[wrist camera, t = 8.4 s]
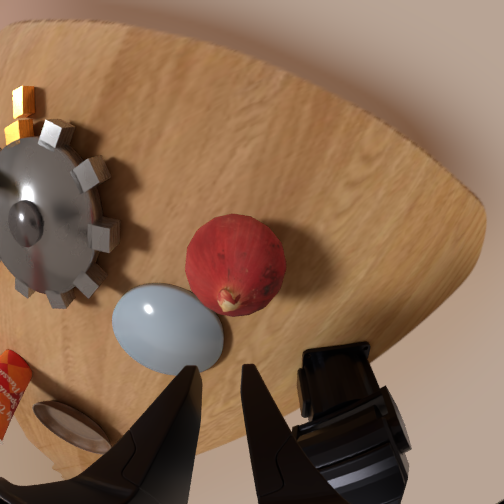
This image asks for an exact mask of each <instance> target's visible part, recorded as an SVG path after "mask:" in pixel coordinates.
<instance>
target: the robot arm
mask: <svg viewBox="0 0 504 504" xmlns="http://www.w3.org/2000/svg"><path fill="white" fill-rule="evenodd" d="M369 351H370V344H369V342H361V343H355V344H348V345H341V346H333V347H325V348H317V349H308V350H305V351H304V352H303V354H302V368H299V370H298V373H297V390H298V397H299V403H300V410H301V416H302V417H304V418H307V417H308V420H309V422H307V423H305V424H302V425H297V426H294V427H292V432H291V430H290V429H289V427H288V425H287V423H286V422H285V420H284V418H283V416H282V414H281V412H280V411H279V409H278V407H277V405H276V403H275V401H274V400H273V398H272V396H271V394H270V392H269V390H268V388H267V387H266V385H265V383H264V381H263V379H262V377H261V375H260V373H259V372H258V370H257V368H256V366H255V365H254V364H243V365H242V375H241V401H242V408H243V415H244V421H245V428H246V434H247V440H248V446H249V453H250V459H251V465H252V470H253V476H254V482H255V487H256V493H257V498H258V504H401V500H402V497H403V494H404V490H405V487H406V483H407V480H408V472H409V463H408V461H407V458H406V455H405V452H407V451H409V450H411V449H412V448H411V445H410V441H409V437H408V434H407V431H406V428H405V424H404V422H403V419H402V417H401V414H400V412H399V410H398V407H397V405H396V403H395V402H394V400H393V398H392V396H391V394H390V392H389V391H388V389H387V387H386V386H384V387H382V388H379V385H378V383H377V380H376V378H375V375H374V373H373V371H372V368H371V366H370V363H369V361H368V355H369ZM308 354H310V355H308ZM201 406H202V379H201V376H200V372H199V369H198V367H197V366H196V365H186V366H184V367H183V369H182V370H181V371H180V372H179V373H178V374H177V376H176V377H175V378H174V379H173V380H172V381H171V382H170V384H169V385H168V386H167V387H166V388H165V389H164V390H163V392H162V393H161V394H160V395H159V396H158V397H157V398H156V400H155V401H154V402H153V403H152V404H151V405H150V406H149V408H148V409H147V410H146V411H145V412H144V413H143V414H142V415H141V417H140V418H139V419H138V420H137V421H136V422H135V423H134V424H133V425H132V427H131V428H130V430H128V431H127V432H126V433H125V434H124V435H123V436H122V438H121V439H120V440H119V441H118V442H117V443H116V444H115V445H114V446H113V447H112V448H111V449H109V450H108V451H107V452H106V453H105V454H104V455H103V456H102V457H100V458H99V459H98V460H97V461H96V462H94V463H93V464H92V465H91V466H90V467H88V468H87V469H86V470H85V471H83V472H82V473H81V474H79V475H78V476H76V477H74V478H71V479H68V480H64V481H58V482H52V483H46V484H39V485H31V486H18V485H14V484H12V483H10V482H8V481H7V480H6V479H4V478H2V477H0V504H187V503H188V497H189V490H190V484H191V478H192V471H193V466H194V459H195V454H196V448H197V442H198V436H199V430H200V423H201ZM2 498H3V499H2ZM496 504H504V499H503V500H501V501H500V502H498V503H496Z"/></svg>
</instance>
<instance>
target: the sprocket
mask: <svg viewBox="0 0 504 504" xmlns="http://www.w3.org/2000/svg"><path fill="white" fill-rule="evenodd" d="M75 128H76V127H75V126H73V125H71V124H69V123H67V122H65V121H63V120H61V119H50V120H45V123H44V126H43V129H42V132H41V135H39V136H34V130H33V119H29V120H19V121H17V122H15V123H13V124H11V125H10V126H8V127H6V128H5V136H6V147H5V148H4V149H3V150H2V149H1V148H0V262H1V261H2V262H3V263H4V265H5V266H6V267H7V269H8V270H9V271H10V272H11V273H12V274H13V275H14V277H15V289H16V290H17V291H18V292H20V293H21V294H22V295H24V296H25V297H26V298H29V297H30V296H31V295H32V294H33V293H34V292H35V291H37V292H40V293H44V294H46V295H47V297H48V300H49V302H50V304H51V306H52V308H58V309H66V308H67V307H68V306H69V305H70V303H71V302H72V301H73V300H74V299H75V295H74V292H73V290H72V288H74V287H75V286H76V287H77V288H78V289H79V290H80V291H81V292H82V293H83V294H84V295H85V296H86V297H87V298H88V299H89V298H90V296H91V295H92V294H93V293H94V292H95V290H96V289H97V288H98V287H99V286H100V284H101V283H102V282H103V281H104V279H105V278H106V277H107V276H108V274H107V273H106V272H105V271H104V270H103V269H102V268H101V267H100V266H99V265H98V264H97V263H96V260H97V258H98V255H99V253H100V251H102V252H107V253H110V252H111V251H112V250H113V249H114V248H115V247H116V246H117V245H118V244H119V240H120V220H117V219H113V218H108V217H103V211H102V205H101V200H100V196H99V192H98V189H97V186H98V185H100V184H102V183H103V182H105V181H106V180H108V179H109V178H111V175H110V173H109V171H108V168H107V166H106V164H105V162H104V160H103V158H102V156H101V155H99V156H95V157H91V158H88V159H86V160H85V161H83V159H82V158H81V157H80V156H79V154H78V153H77V152H76V151H75V150H74V149H73V148H72V147H71V146H69V144H70V141H71V138H72V136H73V133H74V131H75Z"/></svg>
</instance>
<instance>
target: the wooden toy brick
mask: <svg viewBox="0 0 504 504" xmlns="http://www.w3.org/2000/svg"><path fill="white" fill-rule="evenodd" d="M13 113H14V118H25V117H28V116H30V115H32V114H34V113H35V99H34V86H21V87H19V88H18V89H16V90H15V91H13Z"/></svg>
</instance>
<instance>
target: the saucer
mask: <svg viewBox="0 0 504 504" xmlns="http://www.w3.org/2000/svg"><path fill="white" fill-rule="evenodd" d="M32 408H33V412H34V414H35V415H36V417H37V418H38V419H39V420H40V421H41V423H42V424H43V425H44V426H46V427H47V428H48V429H49V430H50V431H52V432H53V433H54V434H56V435H57V436H58V437H60V438H62V439H63V440H65V441H66V442H68V443H70V444H72V445H74V446H76V447H78V448H81V449H83V450H86V451H89V452H92V453H97V454H105V453H106V452H107V451H108V450H109V449H111V448H112V447H111V444H110V441H109V439H108V438H107V436H106V434H105V433H104V431H103V430H102V429H101V428H100V427H99V426H98V425H97V424H96V423H95V422H94V421H93V420H91V419H90V418H89V417H87V416H86V415H84V414H83V413H81V412H79V411H78V410H76V409H74V408H72V407H70V406H68V405H66V404H63V403H60V402H56V401H43V402H38V403H36V404H34V405H33V407H32Z"/></svg>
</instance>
